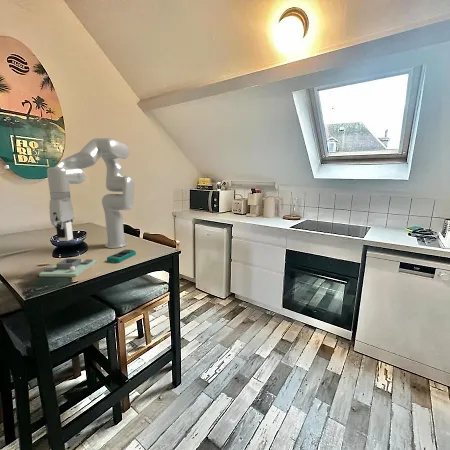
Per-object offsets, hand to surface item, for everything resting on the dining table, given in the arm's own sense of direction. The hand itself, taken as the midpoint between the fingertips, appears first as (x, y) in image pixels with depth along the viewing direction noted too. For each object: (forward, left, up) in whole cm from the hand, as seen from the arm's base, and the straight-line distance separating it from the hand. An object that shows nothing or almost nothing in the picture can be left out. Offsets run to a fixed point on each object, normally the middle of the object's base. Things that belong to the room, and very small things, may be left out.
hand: (65, 235), depth 116 cm
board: (0, 0, -16) cm, 16 cm away
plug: (0, 0, -2) cm, 2 cm away
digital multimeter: (-16, +18, -17) cm, 30 cm away
